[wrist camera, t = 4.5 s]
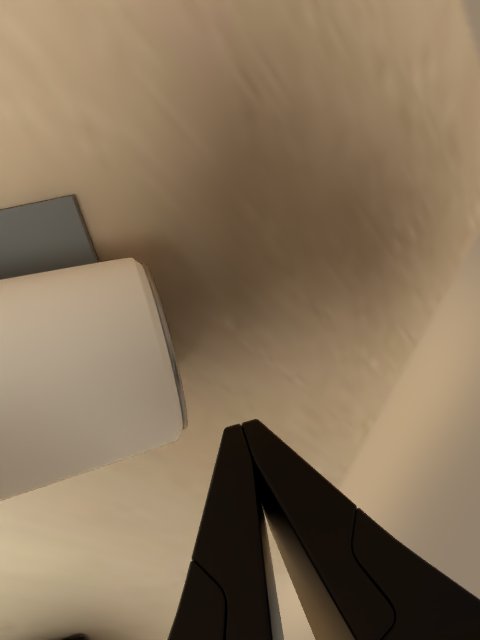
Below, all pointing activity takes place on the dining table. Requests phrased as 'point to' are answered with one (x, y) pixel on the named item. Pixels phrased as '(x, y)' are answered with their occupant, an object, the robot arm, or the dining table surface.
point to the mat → (43, 238)
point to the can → (83, 373)
